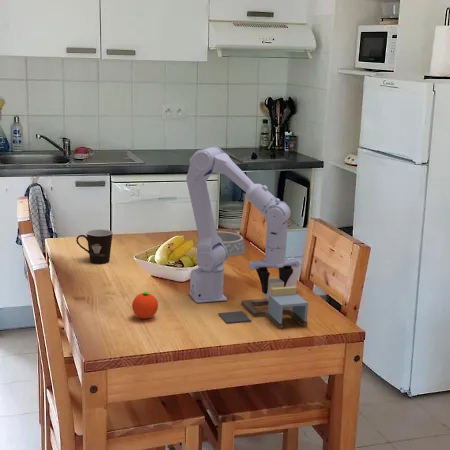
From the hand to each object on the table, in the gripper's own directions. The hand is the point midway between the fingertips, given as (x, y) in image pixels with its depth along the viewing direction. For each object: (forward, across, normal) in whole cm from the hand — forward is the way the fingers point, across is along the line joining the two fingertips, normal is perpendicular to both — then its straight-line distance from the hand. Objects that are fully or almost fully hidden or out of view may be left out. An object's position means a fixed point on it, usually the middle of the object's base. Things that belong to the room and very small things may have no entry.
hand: (272, 292), depth 200 cm
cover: (+3, 0, -11) cm, 11 cm away
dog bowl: (+6, +5, +60) cm, 61 cm away
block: (+2, 0, 0) cm, 2 cm away
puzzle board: (+5, 0, -5) cm, 7 cm away
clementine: (+5, -36, +2) cm, 37 cm away
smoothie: (+5, +11, +12) cm, 17 cm away
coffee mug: (+6, -41, +55) cm, 69 cm away
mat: (+5, -13, -5) cm, 15 cm away
